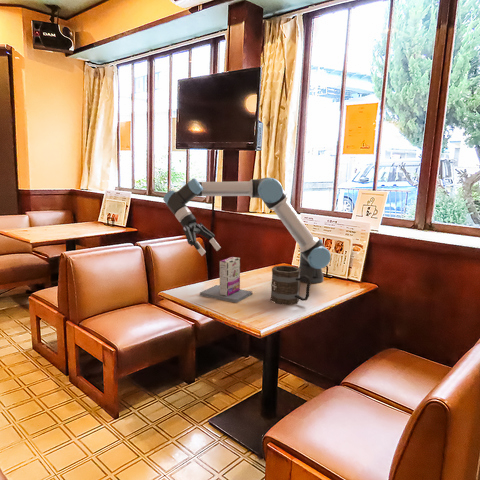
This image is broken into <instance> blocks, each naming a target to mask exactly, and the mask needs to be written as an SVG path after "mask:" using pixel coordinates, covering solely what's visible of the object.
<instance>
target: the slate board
mask: <svg viewBox="0 0 480 480" xmlns="http://www.w3.org/2000/svg"><path fill="white" fill-rule="evenodd" d="M252 294H253V291H250V290H245V289H241V288H240V290H239V291H238V292H235V293H233V294H231V295H229V296H224V295H220V284H219V285H218V284H215V285H214V286H212V287H209V288H207V289H205V290H203V291H200V292H199V296H201V297H206V298H210V299H215V300H219V301H226V302H231V303H234V304H238V303H239V302H241V301H242V300H244V299H246V298H247V297H250V296H252Z"/></svg>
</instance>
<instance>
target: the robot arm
mask: <svg viewBox="0 0 480 480" xmlns="http://www.w3.org/2000/svg"><path fill="white" fill-rule="evenodd" d="M246 196H247V197H248V196H249V197H250V198H251V199H252V198H253V199H261V200H262V202H263V203H264V204H265V206H266V207H267V209H268V210H273V212H274V213H275V214H276V216H277V217H278V219H279V220H280V221H281V222H282V224H283V226H285V228H286V229H287V231H288V232H289V234H290V235H291V236H292V238H293V239H294V241H295V242H296V243H297V244H298V246H299V252H300V254H299V266H298V268H299V269H301V272H300V277H301V276H304V275H307V276H308V277H309V278H310V282H311V283H310V284H317V283H322V282H324V273H323V270H322V269H323V268H326V267H327V266H328V265H329V264H330V262H331V258H332V256H331V253H330V250H329V249H328V248H326V246H325V244H324V242H323V239H320V238H319V237H317V236H316V237H315V236H314V235H313V234H312V233H311V231H310V229H309V228H308V227H307V225H306V224H305V222H304V221H303V220H302V218H301V217H300V215H299V214H298V213H297V211H296V210H295V208H293V206H292V205H291V203H290V202H289V200H288V196H289V195H288V193H286V191H285V189H284V188H283V186H282V184H281V182H280V181H279V180H278V179H276V178H274V177H263V178H255V179H250V180H249V181H244V180H243V181H198V180H197V179H196V178H195V177H194V178H191V179H190V180H189V181H187V182H186V184H183V186H182V187H181V188H180V189H179V190H177V191H176V190H173V189H172V190H170V191H168V192H166V193H165V194H164V196H163V202H164V203H165V204H166V207H168V209H169V210H170V212H171V213H172V214H173V215H174V216H175V218H176V219H177V221H178V222H179V223H180V225H181V226H182V231H183V233H184V234H185V235H184V236H185V238H186V240H187V244H188V245H189V246H191V247H194V248H195V249H196V251H197V252H198V253H199V254H200V256H201V257H203V256H204V255H205V254H206V253H207V251H206V250H205V249H204V248H203V246H202V245H201V243H200V242H199V241H197V235H201V236H202V237H203V238H205V239H207V240H209V243H210V244H211V245H212V247H213V249H214V250H215V251H216V252H218V251H219V250H220V249H221V248H222V247H221V246H220V244H219V243H218V242H217V240H216V239H215V236H216V235H215V234H214V233H213V232H212V231H210V230H209V229H208V228H207V227H205V226H204V224H203V223H202V222H200V223H197V218H196V217H195V215H194V214H193V212H192V211H191V210H190V209H189V207H188V206H187V204H188V203H189V202H190V201H192V200H193V199H194V198H195V197H246ZM300 283H306V284H307V279H306V278H303V279H302V280H300Z"/></svg>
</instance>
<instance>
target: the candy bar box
mask: <svg viewBox="0 0 480 480" xmlns="http://www.w3.org/2000/svg"><path fill="white" fill-rule="evenodd" d="M240 279H241V257H236V256H230V257H227V258H225V259H221V260H219V286H220V295H224V296H229V295H231V294H233V293H235V292H238V291H239V290H240V289H241V280H240Z"/></svg>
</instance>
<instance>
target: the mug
mask: <svg viewBox="0 0 480 480" xmlns="http://www.w3.org/2000/svg"><path fill="white" fill-rule="evenodd" d="M300 272H301V269H299V267H296V266H292V265H277V266H273V267H272V268H271V275H272V276H271V283H270V284H271V291H270V292H271V293H270V294H271V296H270V301H271V302H273V303H274V302H275V304H277V305H285V306H290V305H297V304H298V303H299V302H300V301H302V302H304V301H307V300H308V299H309V297H310V290H311V284H312V283H311V282H310V278H309V277H308V276H307V275H304V276H301V277H300ZM303 278H306V279H307V283H306V287H305V288H306V289H305V296H304V297H303V296H301V295H300V286H301V281H300V280H302V279H303Z"/></svg>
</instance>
